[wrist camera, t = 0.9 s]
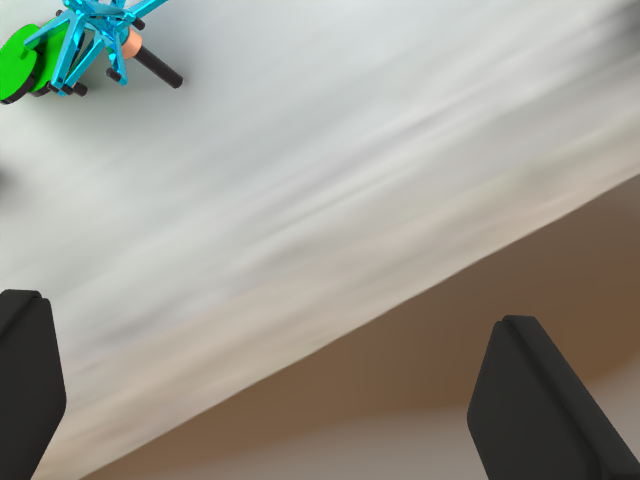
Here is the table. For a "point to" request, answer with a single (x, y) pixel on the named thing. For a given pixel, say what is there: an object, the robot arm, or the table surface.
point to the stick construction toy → (77, 49)
